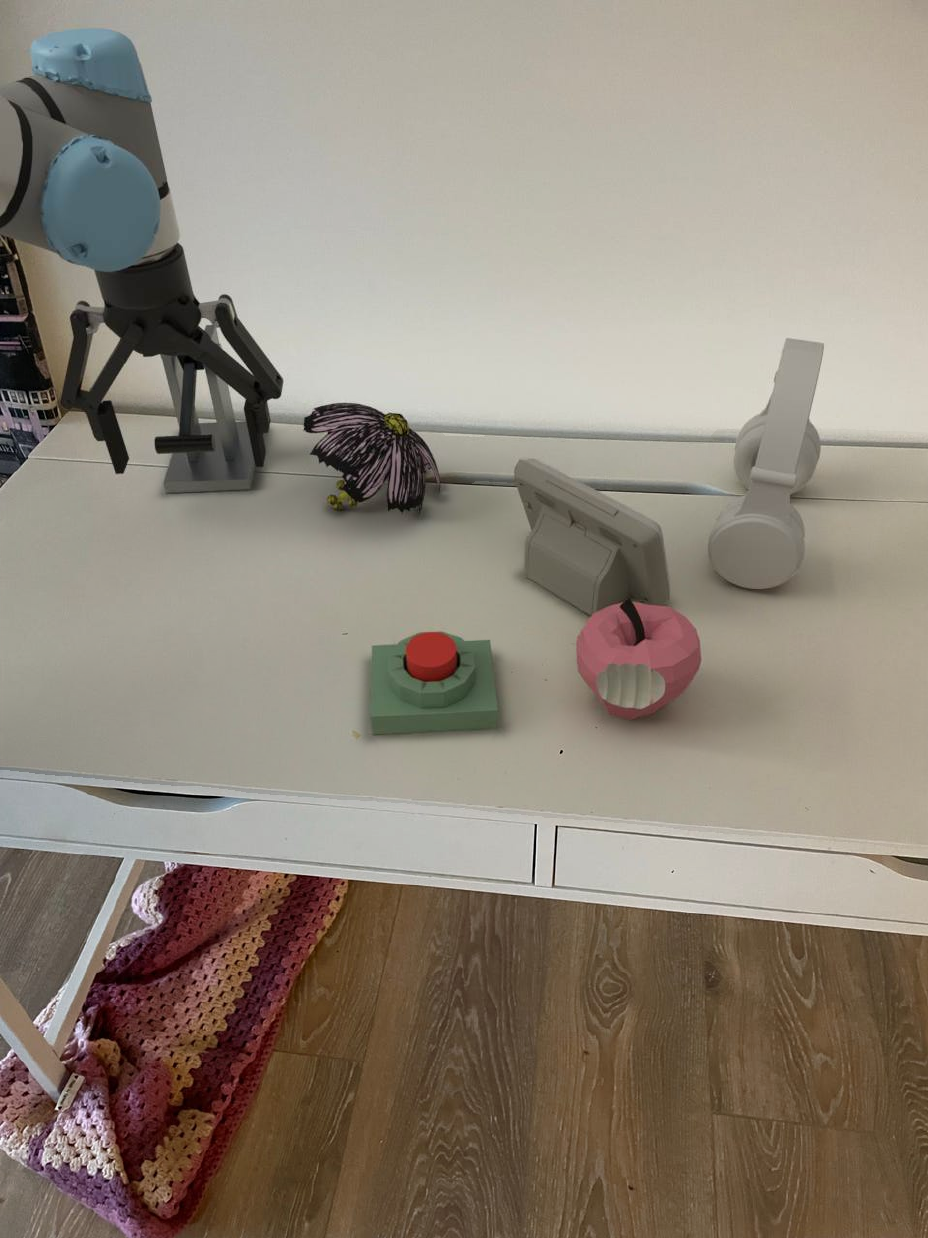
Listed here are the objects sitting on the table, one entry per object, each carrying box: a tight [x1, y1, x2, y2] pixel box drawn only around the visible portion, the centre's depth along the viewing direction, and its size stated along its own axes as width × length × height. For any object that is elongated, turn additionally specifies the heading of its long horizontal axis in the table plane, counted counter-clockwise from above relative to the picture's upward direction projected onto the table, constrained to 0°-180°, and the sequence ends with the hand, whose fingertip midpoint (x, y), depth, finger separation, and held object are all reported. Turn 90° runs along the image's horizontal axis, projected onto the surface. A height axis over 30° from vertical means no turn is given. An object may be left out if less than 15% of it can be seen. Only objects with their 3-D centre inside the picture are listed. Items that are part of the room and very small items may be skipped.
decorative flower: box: [303, 402, 442, 517], centre depth 95 cm, size 14×12×15 cm
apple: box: [575, 597, 702, 721], centre depth 73 cm, size 10×9×10 cm
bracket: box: [159, 324, 256, 494], centre depth 99 cm, size 12×9×15 cm
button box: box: [369, 630, 499, 736], centre depth 76 cm, size 10×8×4 cm
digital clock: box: [513, 458, 671, 617], centre depth 85 cm, size 16×9×11 cm, turn 33°
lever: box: [153, 339, 216, 455], centre depth 93 cm, size 13×6×2 cm, turn 3°
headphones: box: [707, 337, 825, 590], centre depth 87 cm, size 20×8×19 cm, turn 160°
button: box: [406, 631, 457, 682], centre depth 75 cm, size 4×4×2 cm
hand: (191, 463), depth 93 cm, fingers open, 13 cm apart
